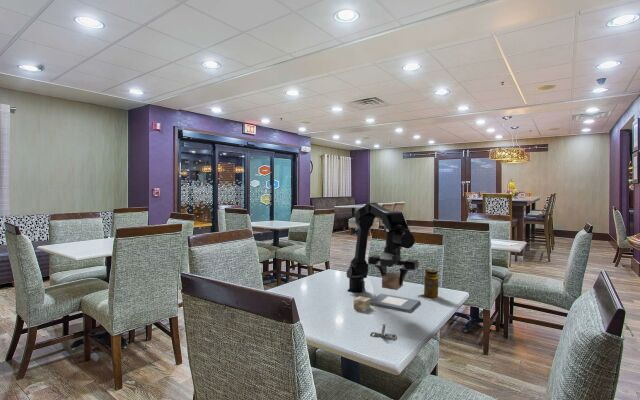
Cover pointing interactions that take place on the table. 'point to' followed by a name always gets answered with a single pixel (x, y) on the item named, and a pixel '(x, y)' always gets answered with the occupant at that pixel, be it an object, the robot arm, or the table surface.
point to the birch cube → (361, 303)
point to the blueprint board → (394, 302)
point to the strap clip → (387, 336)
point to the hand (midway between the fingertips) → (392, 284)
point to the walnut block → (391, 281)
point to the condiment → (430, 285)
